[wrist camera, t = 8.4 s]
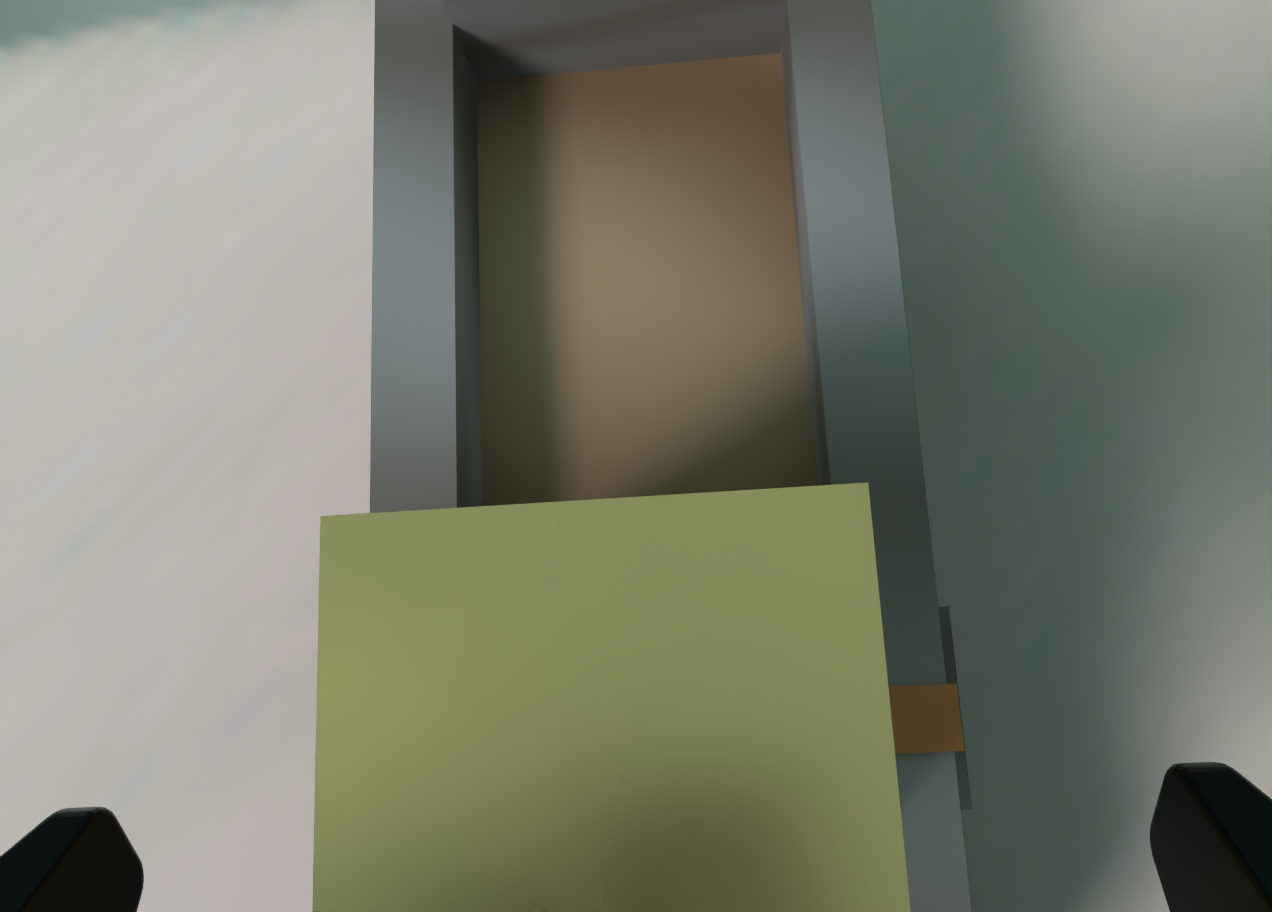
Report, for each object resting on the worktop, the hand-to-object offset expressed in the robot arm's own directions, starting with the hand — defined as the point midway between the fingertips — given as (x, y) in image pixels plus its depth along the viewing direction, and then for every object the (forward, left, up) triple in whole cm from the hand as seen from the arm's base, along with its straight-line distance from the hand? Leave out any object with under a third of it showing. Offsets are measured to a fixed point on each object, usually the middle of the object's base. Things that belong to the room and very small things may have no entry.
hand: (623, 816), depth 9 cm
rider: (0, 0, -5) cm, 5 cm away
